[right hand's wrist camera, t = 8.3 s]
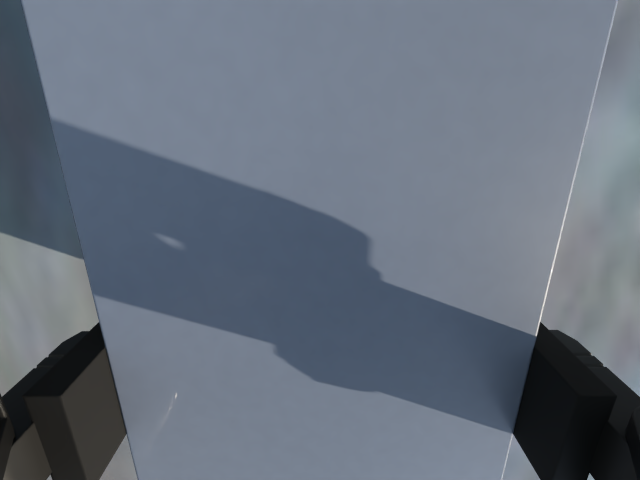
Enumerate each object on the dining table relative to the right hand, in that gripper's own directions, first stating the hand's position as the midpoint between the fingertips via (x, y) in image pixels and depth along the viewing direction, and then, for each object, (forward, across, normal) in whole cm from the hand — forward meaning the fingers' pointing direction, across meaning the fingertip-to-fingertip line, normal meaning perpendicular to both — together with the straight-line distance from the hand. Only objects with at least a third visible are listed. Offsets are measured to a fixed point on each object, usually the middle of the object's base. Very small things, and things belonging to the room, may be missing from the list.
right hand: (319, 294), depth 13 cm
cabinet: (+5, 0, -6) cm, 8 cm away
